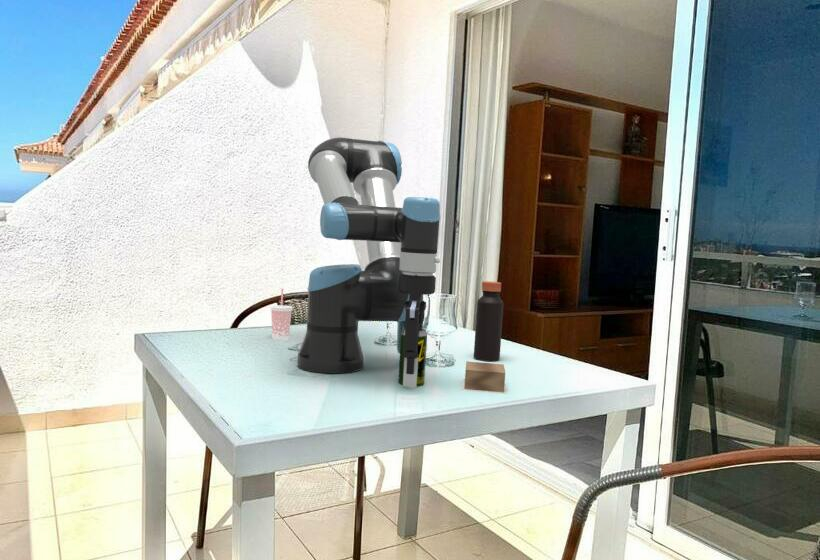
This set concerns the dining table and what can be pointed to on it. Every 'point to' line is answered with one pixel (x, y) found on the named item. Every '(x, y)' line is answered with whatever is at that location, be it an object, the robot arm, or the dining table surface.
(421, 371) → the beer can
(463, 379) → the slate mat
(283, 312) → the beverage cup
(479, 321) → the bottle
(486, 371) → the walnut block
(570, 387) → the dining table surface
